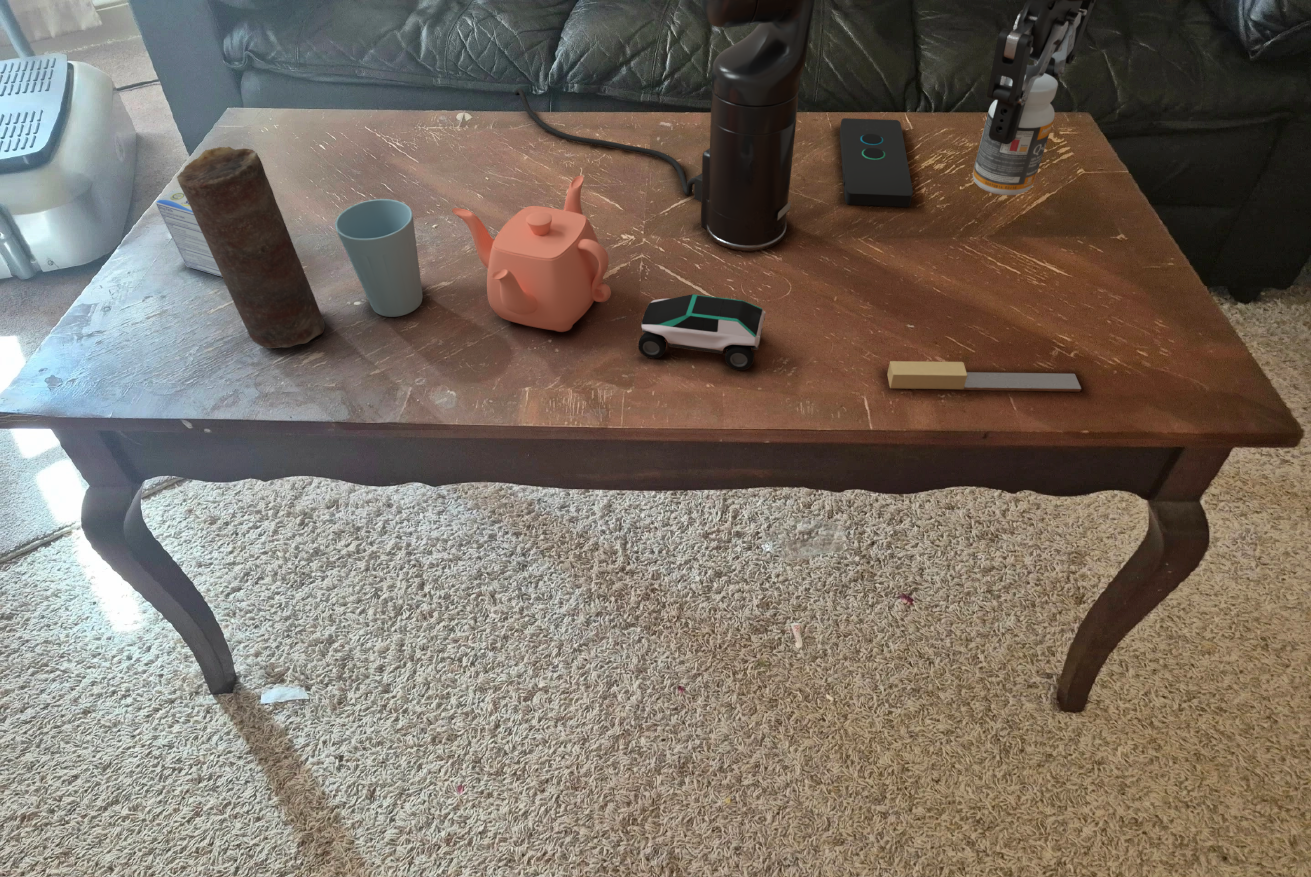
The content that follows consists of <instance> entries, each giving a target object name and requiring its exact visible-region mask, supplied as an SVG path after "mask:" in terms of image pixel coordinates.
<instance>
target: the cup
mask: <svg viewBox="0 0 1311 877" xmlns="http://www.w3.org/2000/svg"><path fill="white" fill-rule="evenodd" d="M413 213H414V212H413V210H412V208H411V207H410V206H409V205H407V204H406V203H405V202H402V201H400V200H396V199H389V198H377V199H369V200H365V201H361V202H358V203H356V204H353V205H351V206H349V207H347V208H345V209H344V210H343V211H342V212H341V213H340V214H339V215H338V216H337V217H336V219H335V222H334V228H335V231H336V233H337V235H338V237H339V240H340V242H341V244H342V246H343V248H344V250H345V252H346V254H347V257H348V258H349V261H350V263H351V265H352V267H353V269H354V272H355V274H356V276H357V278H358V280H359V283H360V285H361V287H362V290H363V291H364V294H365V295H366V298H367V300H368V302H369V304H370V306H371V309H372V310H373V311H374V313H376V314H378V315H380V316H383V317H389V318H397V317H402V316H406V315H408V314H410V313H412V312H414V311H416V310H417V309H418V308H419V307H420V306H421V304H422V302H423V287H422V279H421V271H420V262H419V254H418V247H417V246H418V245H417V238H416V230H415V223H414V222H415V221H414V214H413Z"/></svg>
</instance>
